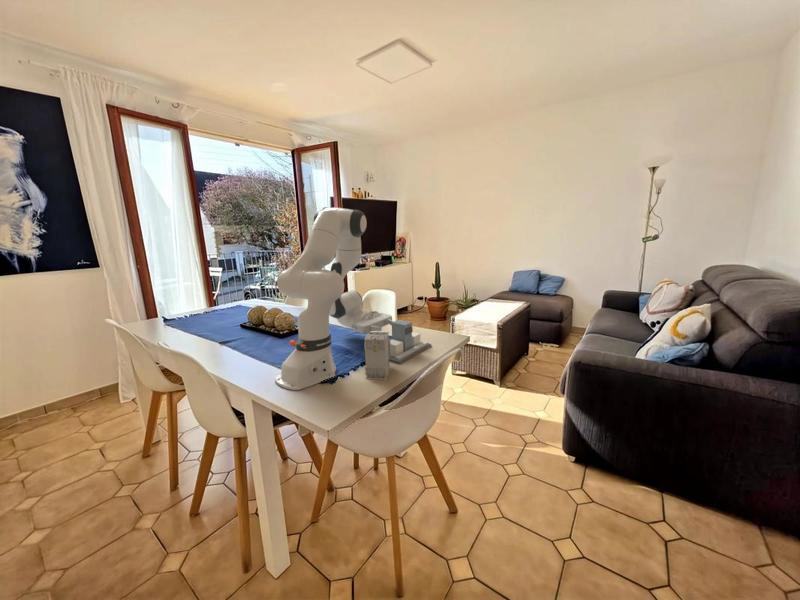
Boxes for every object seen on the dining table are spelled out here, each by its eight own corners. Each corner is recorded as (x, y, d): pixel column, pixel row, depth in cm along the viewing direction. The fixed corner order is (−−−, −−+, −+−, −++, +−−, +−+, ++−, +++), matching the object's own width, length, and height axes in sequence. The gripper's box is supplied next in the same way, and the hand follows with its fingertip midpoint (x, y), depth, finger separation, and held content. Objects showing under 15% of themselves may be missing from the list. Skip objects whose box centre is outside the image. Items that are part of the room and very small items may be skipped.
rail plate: (399, 364, 130) (399, 349, 129) (373, 356, 139) (372, 342, 137) (431, 346, 149) (431, 333, 148) (406, 340, 157) (406, 328, 156)
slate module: (406, 352, 140) (405, 325, 137) (392, 348, 144) (391, 322, 141) (412, 348, 143) (412, 322, 141) (399, 345, 148) (398, 319, 145)
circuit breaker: (391, 363, 132) (390, 327, 128) (386, 379, 118) (385, 339, 114) (372, 362, 132) (371, 326, 129) (365, 378, 119) (364, 339, 115)
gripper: (348, 320, 146) (371, 325, 138) (378, 310, 162) (400, 314, 154) (349, 333, 148) (372, 339, 139) (378, 322, 163) (401, 327, 155)
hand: (387, 326), depth 147 cm, fingers open, 8 cm apart
